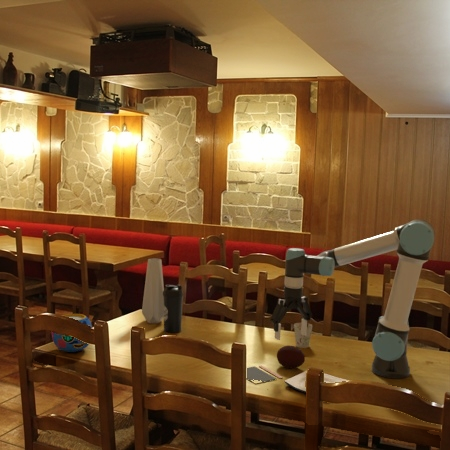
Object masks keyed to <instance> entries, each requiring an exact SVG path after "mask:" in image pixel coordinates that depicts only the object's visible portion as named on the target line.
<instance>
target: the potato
mask: <svg viewBox="0 0 450 450" xmlns="http://www.w3.org/2000/svg"><path fill="white" fill-rule="evenodd" d="M276 358H277V361H278V363H279V364H280V366H282V367H283V368H286V369H297V368H299V367H300V366H302V365H303V364H304V363H305V361H306V360H305V359H306V357H305V354H304V352H303V351H302V350H301V348H299V347H297V346H296V345H283V346H282V347H281V348H279V349H278V350H277V353H276Z"/></svg>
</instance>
